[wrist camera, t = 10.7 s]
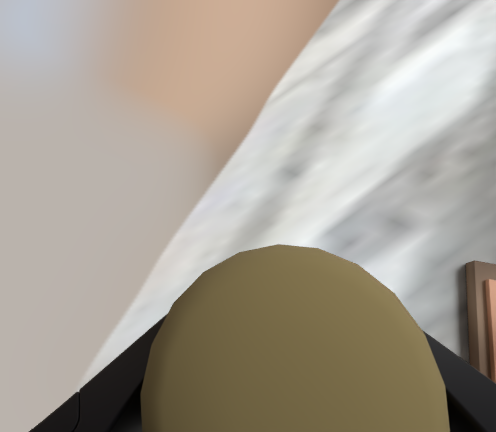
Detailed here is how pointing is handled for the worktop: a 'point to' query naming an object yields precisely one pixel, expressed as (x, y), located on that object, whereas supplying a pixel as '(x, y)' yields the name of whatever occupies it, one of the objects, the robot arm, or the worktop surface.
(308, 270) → the cork
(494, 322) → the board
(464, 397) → the robot arm
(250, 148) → the worktop surface
